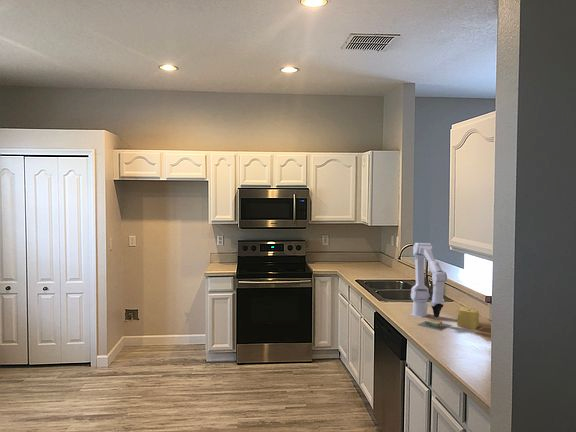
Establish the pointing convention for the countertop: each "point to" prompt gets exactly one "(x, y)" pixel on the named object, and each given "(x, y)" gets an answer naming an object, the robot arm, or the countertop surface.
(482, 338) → the countertop surface
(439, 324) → the tile
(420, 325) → the mat
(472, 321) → the cheese
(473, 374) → the countertop surface
